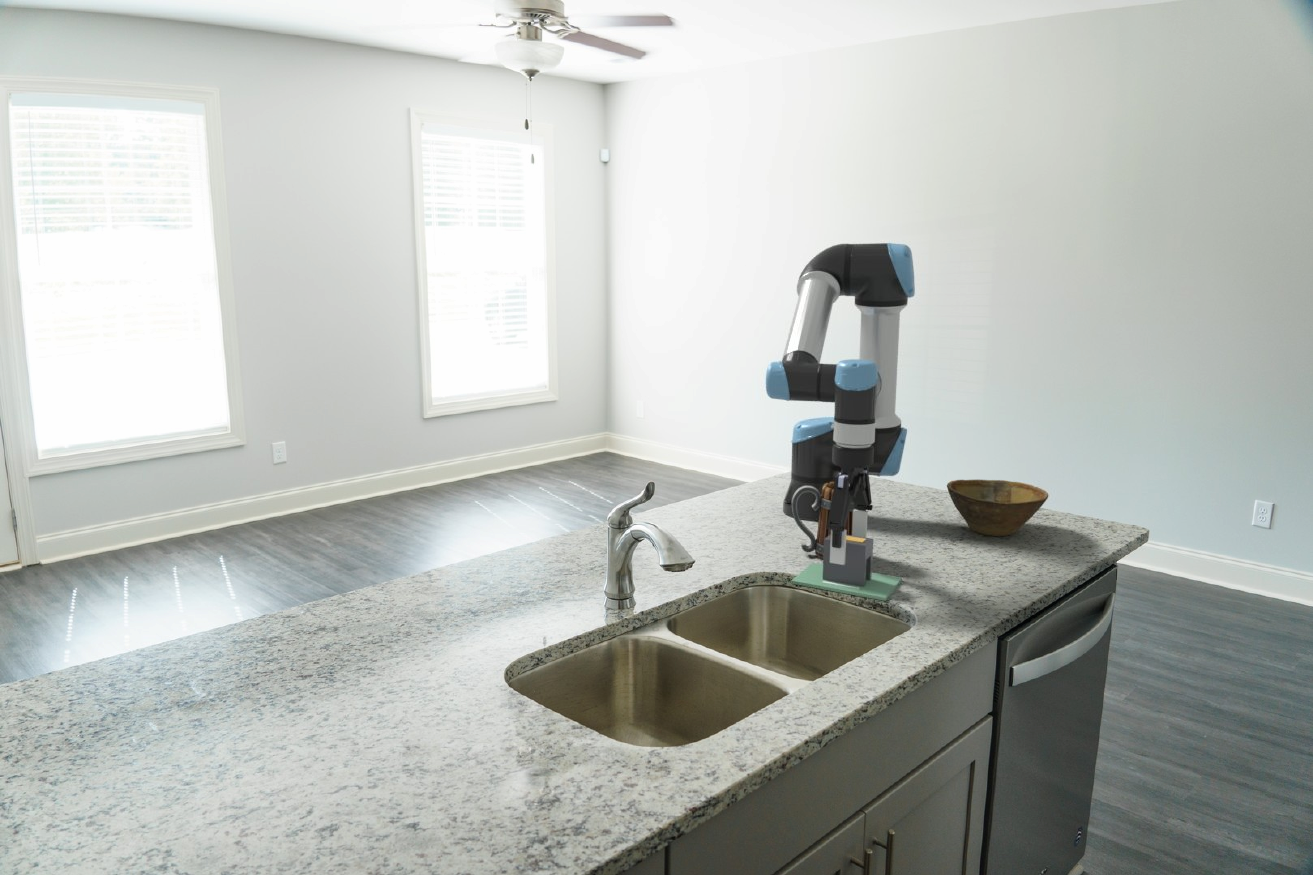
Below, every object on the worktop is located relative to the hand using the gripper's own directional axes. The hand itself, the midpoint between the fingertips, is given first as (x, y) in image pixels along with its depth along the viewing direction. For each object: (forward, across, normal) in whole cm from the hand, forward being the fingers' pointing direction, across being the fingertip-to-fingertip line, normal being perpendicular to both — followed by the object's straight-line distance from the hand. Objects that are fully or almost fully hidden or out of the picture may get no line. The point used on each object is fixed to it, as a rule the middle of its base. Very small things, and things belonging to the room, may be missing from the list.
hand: (848, 552), depth 169 cm
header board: (+6, 0, 0) cm, 6 cm away
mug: (+6, -13, -8) cm, 17 cm away
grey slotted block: (+5, 0, 0) cm, 5 cm away
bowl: (+7, -50, +19) cm, 53 cm away
